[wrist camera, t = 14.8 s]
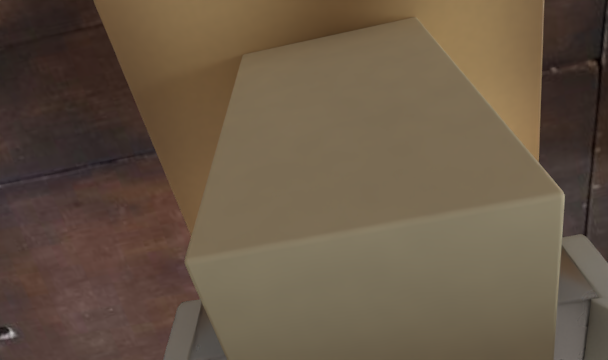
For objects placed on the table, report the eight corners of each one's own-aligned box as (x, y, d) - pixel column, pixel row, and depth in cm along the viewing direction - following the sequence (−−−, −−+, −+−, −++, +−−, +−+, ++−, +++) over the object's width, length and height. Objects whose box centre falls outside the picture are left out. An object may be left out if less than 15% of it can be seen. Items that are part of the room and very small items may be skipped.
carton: (416, 15, 14) (568, 192, 6) (435, 217, 17) (546, 488, 10) (241, 54, 14) (181, 262, 7) (295, 242, 18) (295, 519, 10)
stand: (401, -124, 29) (549, -118, 12) (420, 70, 36) (536, 254, 18) (203, -76, 30) (88, -9, 13) (255, 105, 37) (220, 308, 20)
